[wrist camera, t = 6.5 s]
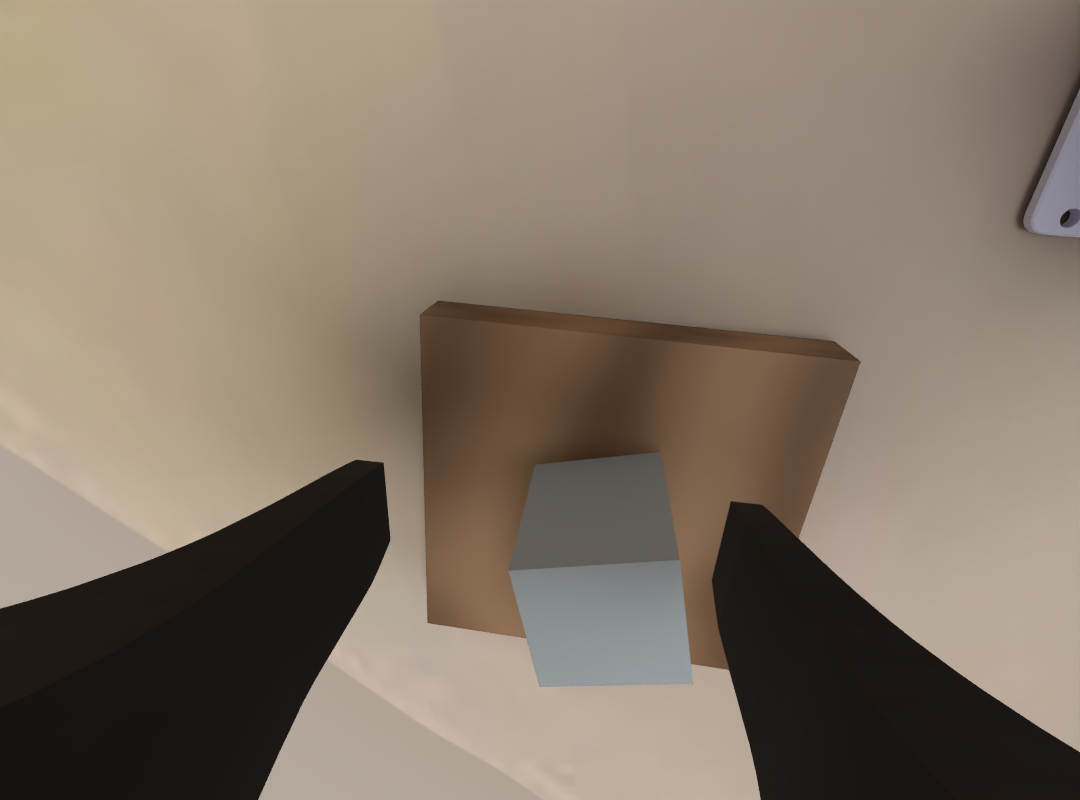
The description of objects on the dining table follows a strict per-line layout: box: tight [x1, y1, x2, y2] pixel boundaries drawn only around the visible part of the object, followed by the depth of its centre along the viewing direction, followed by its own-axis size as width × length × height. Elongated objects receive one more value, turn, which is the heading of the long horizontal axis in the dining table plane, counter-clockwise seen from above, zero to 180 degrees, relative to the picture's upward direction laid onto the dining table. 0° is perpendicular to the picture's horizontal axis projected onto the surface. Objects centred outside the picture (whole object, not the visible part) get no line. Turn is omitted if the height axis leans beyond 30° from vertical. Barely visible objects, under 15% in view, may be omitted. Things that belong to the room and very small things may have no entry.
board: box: [420, 301, 861, 670], centre depth 20 cm, size 14×14×2 cm
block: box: [509, 452, 693, 687], centre depth 17 cm, size 4×4×6 cm
